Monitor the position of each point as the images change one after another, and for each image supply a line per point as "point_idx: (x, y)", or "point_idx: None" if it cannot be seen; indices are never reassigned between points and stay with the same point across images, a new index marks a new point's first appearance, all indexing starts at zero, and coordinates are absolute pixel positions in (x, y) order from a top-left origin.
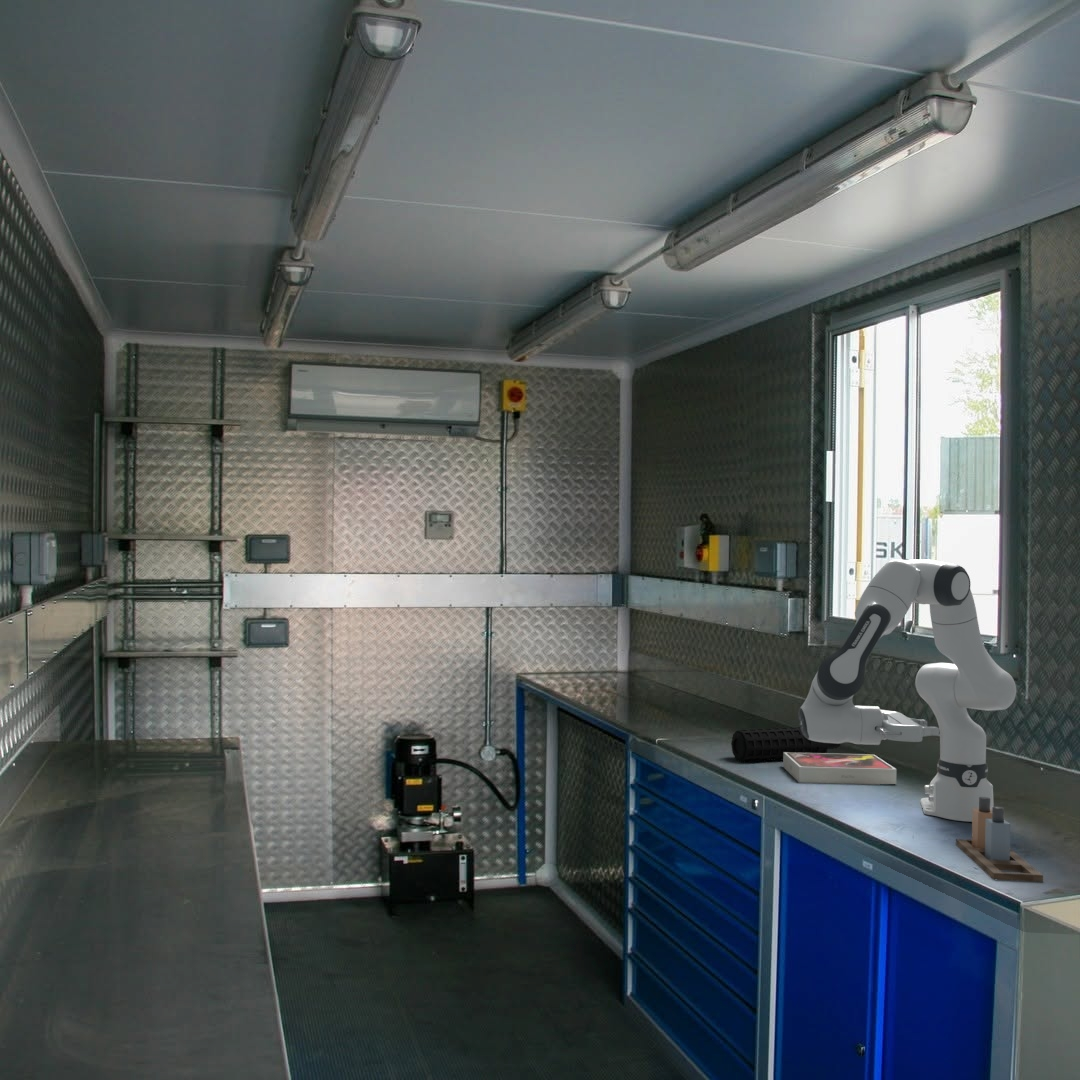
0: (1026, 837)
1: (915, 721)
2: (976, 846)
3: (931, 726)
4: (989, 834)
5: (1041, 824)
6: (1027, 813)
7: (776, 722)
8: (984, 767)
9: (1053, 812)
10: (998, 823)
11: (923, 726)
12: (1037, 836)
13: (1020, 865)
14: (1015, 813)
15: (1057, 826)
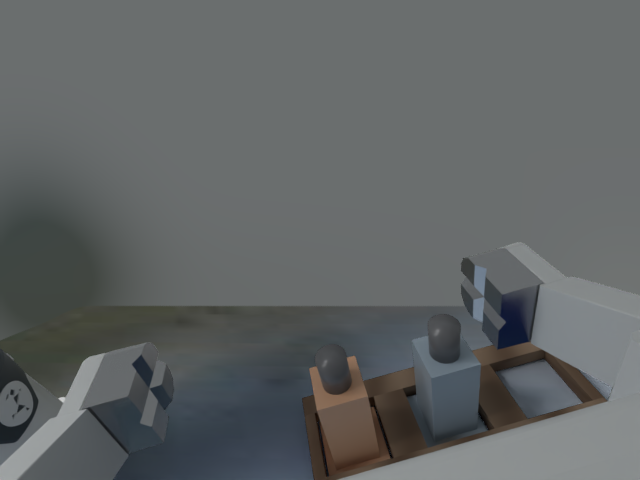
0: (216, 361)
1: (71, 456)
2: (371, 452)
3: (495, 280)
4: (464, 390)
5: (129, 339)
6: (52, 357)
7: None
8: (5, 353)
9: (59, 324)
10: (469, 350)
11: (158, 400)
12: (208, 345)
13: (489, 365)
14: (46, 374)
15: (144, 320)
